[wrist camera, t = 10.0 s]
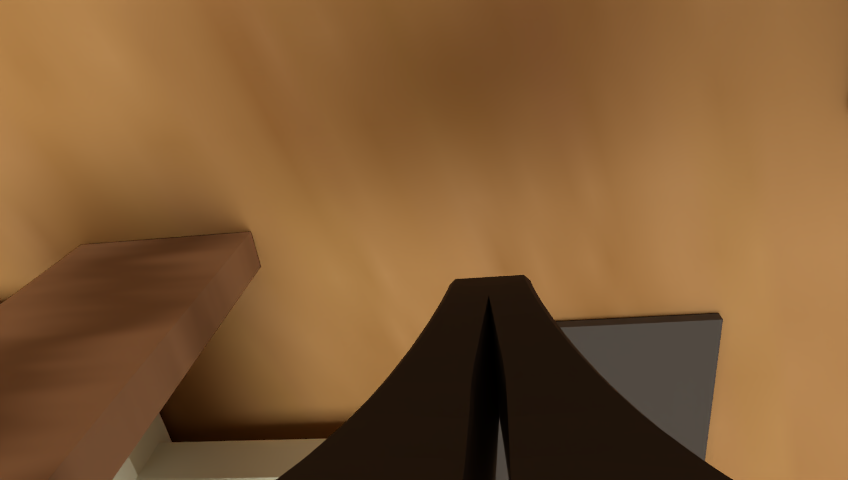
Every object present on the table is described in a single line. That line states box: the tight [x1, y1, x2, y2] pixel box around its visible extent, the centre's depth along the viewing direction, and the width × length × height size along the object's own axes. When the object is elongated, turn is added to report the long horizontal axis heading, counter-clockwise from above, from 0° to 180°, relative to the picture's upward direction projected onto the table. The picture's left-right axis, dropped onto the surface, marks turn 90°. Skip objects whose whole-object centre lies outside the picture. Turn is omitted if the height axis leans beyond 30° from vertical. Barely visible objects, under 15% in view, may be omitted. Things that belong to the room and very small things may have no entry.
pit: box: [496, 313, 723, 480], centre depth 24 cm, size 10×12×1 cm
